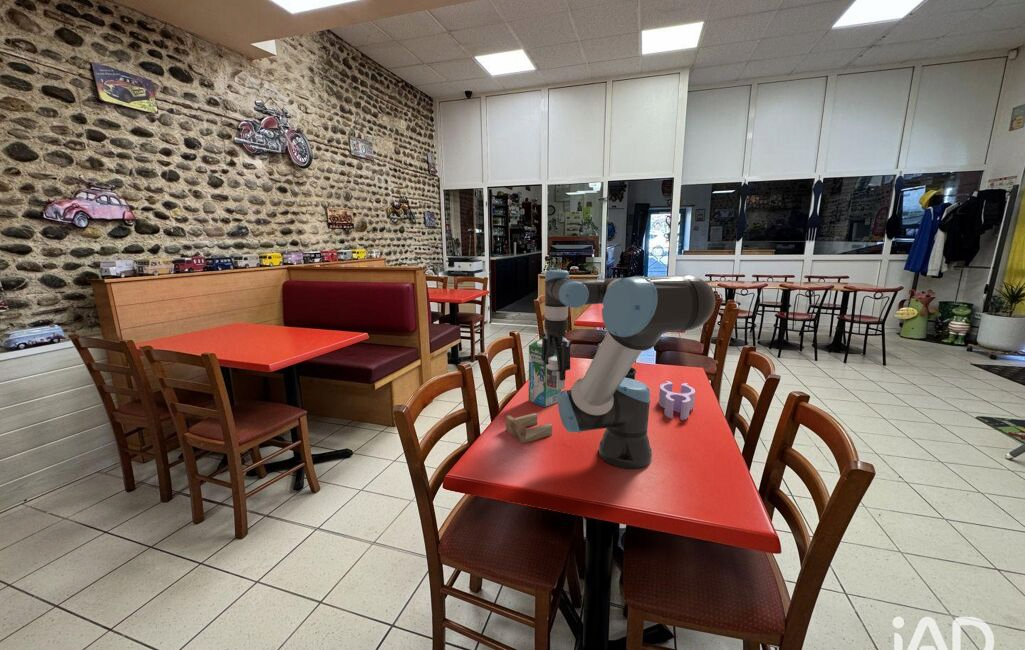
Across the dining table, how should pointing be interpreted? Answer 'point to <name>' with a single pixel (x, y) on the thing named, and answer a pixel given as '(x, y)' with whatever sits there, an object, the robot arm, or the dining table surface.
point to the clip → (676, 400)
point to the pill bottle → (552, 373)
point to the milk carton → (539, 378)
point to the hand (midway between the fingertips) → (554, 385)
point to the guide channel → (521, 434)
